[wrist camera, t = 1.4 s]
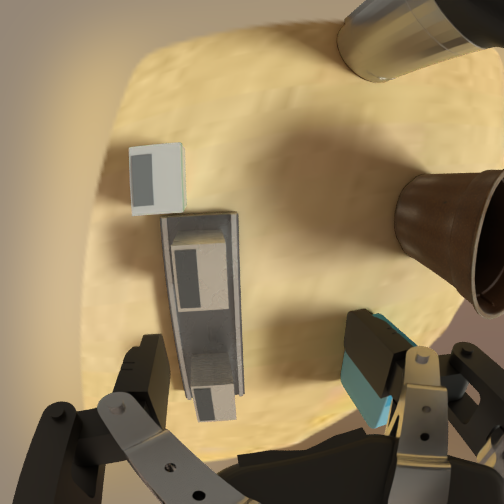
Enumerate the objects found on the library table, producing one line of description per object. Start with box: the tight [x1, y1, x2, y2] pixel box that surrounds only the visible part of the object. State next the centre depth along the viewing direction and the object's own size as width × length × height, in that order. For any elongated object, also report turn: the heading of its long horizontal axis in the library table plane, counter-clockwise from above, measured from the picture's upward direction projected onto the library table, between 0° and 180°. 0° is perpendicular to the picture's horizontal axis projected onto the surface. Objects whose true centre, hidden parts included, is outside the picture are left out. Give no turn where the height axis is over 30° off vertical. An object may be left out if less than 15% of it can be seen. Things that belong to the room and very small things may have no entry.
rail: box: [160, 212, 245, 422], centre depth 30 cm, size 24×8×8 cm, turn 1°
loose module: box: [129, 142, 187, 216], centre depth 26 cm, size 6×5×6 cm
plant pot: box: [395, 169, 504, 319], centre depth 27 cm, size 16×16×16 cm
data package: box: [341, 313, 417, 428], centre depth 33 cm, size 12×4×12 cm, turn 2°
